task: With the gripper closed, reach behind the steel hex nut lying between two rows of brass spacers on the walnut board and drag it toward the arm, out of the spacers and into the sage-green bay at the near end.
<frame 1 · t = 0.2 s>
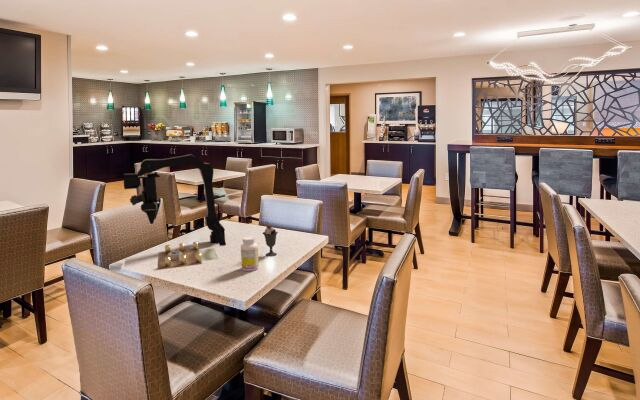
hand: (153, 221, 182), 15 cm above the table, tool pointing down, fingers open, 9 cm apart
supplement bottle: (250, 269, 162), on the table
board: (185, 259, 174), on the table
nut: (175, 258, 172), point 1 cm above the table, touching board
sundae: (271, 254, 179), on the table
spacers: (182, 253, 173), on the board, point 3 cm above the table
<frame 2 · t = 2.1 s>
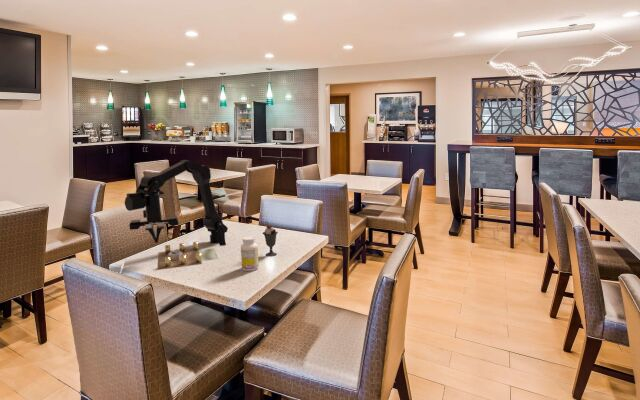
hand: (156, 242, 168), 9 cm above the table, tool pointing down, fingers closed
nothing on the table moved.
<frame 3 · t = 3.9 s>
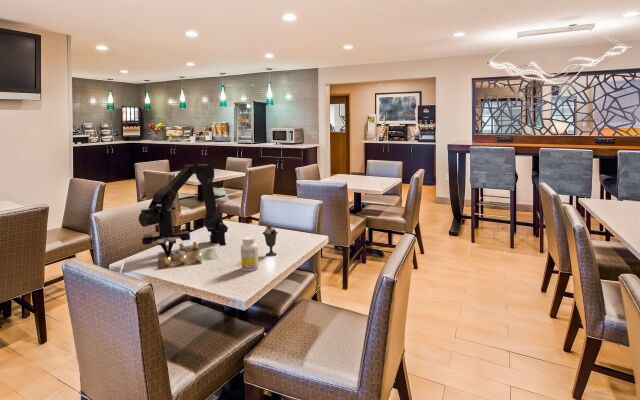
hand: (168, 256, 171), 2 cm above the table, tool pointing down, fingers closed
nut: (178, 257, 172), point 1 cm above the table, touching gripper
everything else where it was.
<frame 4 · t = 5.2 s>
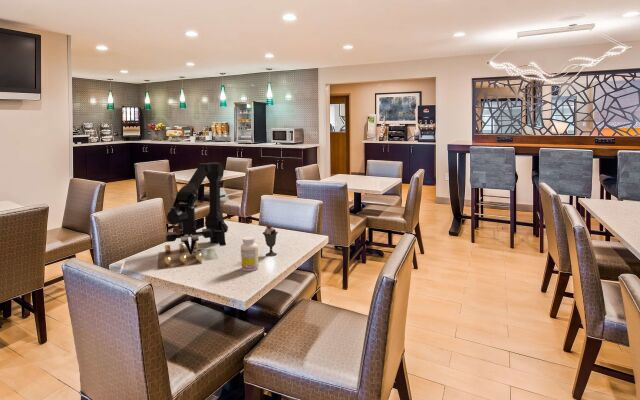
hand: (190, 254, 174), 2 cm above the table, tool pointing down, fingers closed
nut: (200, 255, 175), point 1 cm above the table, touching gripper
everything else where it was.
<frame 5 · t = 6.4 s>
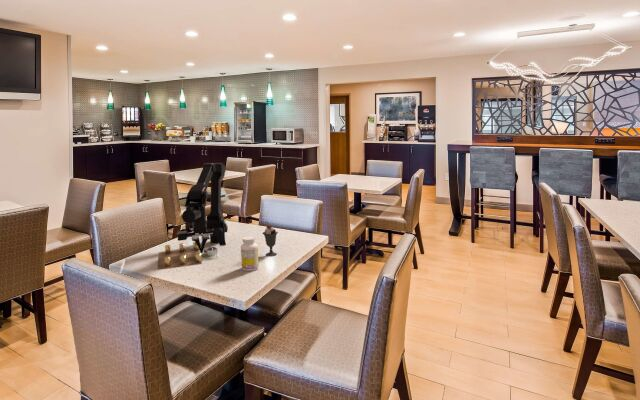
hand: (201, 252, 176), 2 cm above the table, tool pointing down, fingers closed
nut: (211, 254, 177), point 1 cm above the table, touching board, gripper
everything else where it was.
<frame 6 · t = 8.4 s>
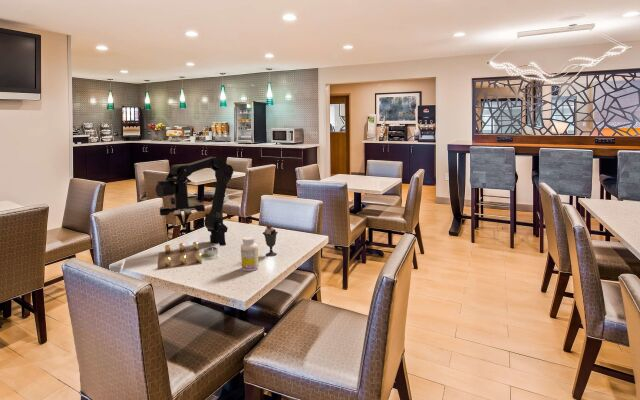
hand: (184, 227, 179), 12 cm above the table, tool pointing down, fingers closed
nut: (211, 254, 177), point 1 cm above the table, touching board
everything else where it was.
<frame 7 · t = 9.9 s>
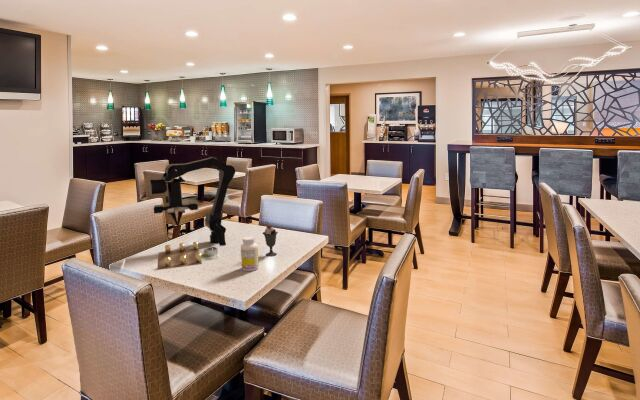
hand: (177, 225, 184), 12 cm above the table, tool pointing down, fingers closed
nothing on the table moved.
at the end: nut inside the target area (1.9 cm from its centre), point 1.2 cm above the table; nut tilted 0°; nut moved 14.8 cm from its start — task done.
